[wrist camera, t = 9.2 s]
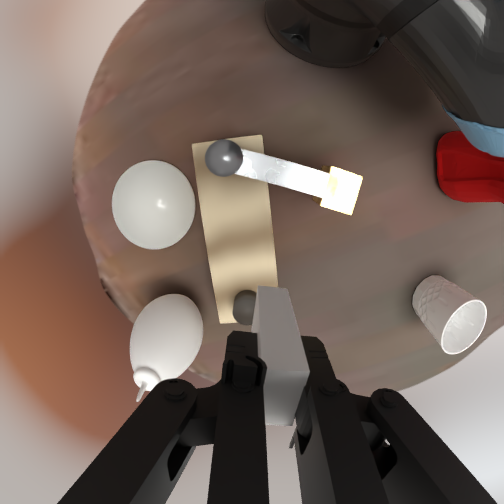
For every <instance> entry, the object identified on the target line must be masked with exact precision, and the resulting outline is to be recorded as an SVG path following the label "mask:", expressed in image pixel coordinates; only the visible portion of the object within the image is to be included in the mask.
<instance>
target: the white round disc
mask: <svg viewBox="0 0 504 504" xmlns="http://www.w3.org/2000/svg"><path fill="white" fill-rule="evenodd" d="M112 211H113V216H114V219H115V222H116V224H117V226H118V228H119V229H120V231H121V232H122V234H123V235H124V236H125V237H126V238H127V239H128V240H129V241H131V242H132V243H134V244H136V245H138V246H140V247H143V248H147V249H162V248H166V247H169V246H171V245H173V244H175V243H176V242H178V241H179V240H180V239H181V238H182V237H183V236H184V235H185V234H186V233H187V232H188V230H189V228H190V227H191V225H192V222H193V219H194V216H195V211H196V201H195V195H194V191H193V188H192V186H191V184H190V182H189V180H188V179H187V177H186V176H185V175H184V174H183V173H182V172H181V171H180V170H179V169H178V168H176V167H175V166H173V165H171V164H169V163H167V162H163V161H157V160H149V161H143V162H140V163H137V164H135V165H133V166H132V167H130V168H129V169H128V170H126V171H125V172H124V173H123V174H122V176H121V177H120V178H119V180H118V182H117V184H116V186H115V189H114V192H113V196H112Z"/></svg>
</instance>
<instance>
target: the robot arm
mask: <svg viewBox="0 0 504 504" xmlns="http://www.w3.org/2000/svg"><path fill="white" fill-rule="evenodd" d="M265 18H266V22H267V25H268V28H269V30H270V32H271V33H272V35H273V36H274V38H275V39H276V40H277V41H278V42H279V43H280V44H281V45H282V46H283V47H284V48H285V49H286V50H288V51H289V52H290V53H292V54H293V55H295V56H297V57H299V58H301V59H303V60H305V61H307V62H310V63H313V64H316V65H320V66H325V67H336V68H338V67H349V66H354V65H357V64H360V63H362V62H364V61H365V60H367V59H368V58H370V57H371V56H372V55H373V54H374V53H376V52H377V51H378V50H379V48H380V47H381V46H382V44H383V42H384V40H385V38H386V37H387V38H388V40H389V41H390V42H391V43H392V44H393V45H394V46H395V47H396V48H397V49H398V50H399V51H400V53H401V54H402V55H403V56H404V57H405V58H406V59H407V60H408V61H409V63H410V64H411V65H412V66H413V67H414V68H415V70H416V71H417V72H418V73H419V74H420V76H421V77H422V78H423V79H424V80H425V82H426V83H427V84H428V85H429V87H430V88H431V89H432V91H433V92H434V93H435V95H436V96H437V97H438V99H439V100H440V102H441V103H442V107H443V109H444V110H445V112H446V113H447V114H448V115H449V116H450V117H451V118H452V119H453V120H454V121H455V123H456V124H457V125H458V127H459V128H460V129H461V131H462V132H463V134H464V135H465V137H466V138H467V140H468V141H469V142H470V143H471V144H472V145H473V146H475V147H476V148H477V149H479V150H481V151H483V152H487V153H489V154H490V155H493V156H497V157H503V158H504V0H266V4H265ZM295 418H296V424H297V427H296V429H295V432H294V435H293V437H292V440H291V442H290V447H289V448H293V445H294V443H295V450H296V457H297V464H298V472H299V481H300V489H301V497H302V504H497V503H496V501H495V500H494V499H493V498H492V497H491V496H490V494H489V493H488V492H487V491H486V490H485V489H484V487H483V486H482V485H481V484H480V483H479V482H478V481H477V479H476V478H475V477H474V476H473V475H472V474H471V472H470V471H469V470H468V469H467V468H466V467H465V466H464V464H463V463H462V462H461V461H460V460H459V459H458V458H457V456H456V455H455V454H454V453H453V452H452V451H451V450H450V449H449V448H448V446H447V445H446V444H445V443H444V442H443V441H442V439H441V438H440V437H439V436H438V435H437V434H436V433H435V432H434V431H433V430H432V428H431V427H430V426H429V425H428V424H427V423H426V422H425V421H424V419H423V418H422V417H421V416H420V415H419V414H418V413H417V412H416V410H415V409H414V408H413V407H412V406H411V405H410V404H409V403H408V401H406V399H405V398H404V397H403V396H402V395H401V394H399V393H398V392H396V391H394V390H392V389H386V388H383V389H378V390H376V391H374V392H373V394H372V395H371V397H365V396H360V395H356V394H352V393H350V392H349V389H348V388H347V386H346V385H345V384H344V383H343V382H341V381H340V380H337V379H336V377H335V374H334V371H333V369H332V366H331V363H330V360H329V359H328V355H327V353H326V350H325V347H324V344H323V343H322V342H321V341H320V340H319V339H318V338H317V337H311V336H300V333H299V329H298V325H297V322H296V318H295V314H294V311H293V307H292V303H291V300H290V296H289V293H288V289H287V288H278V287H268V286H259V285H258V288H257V295H256V302H255V309H254V316H253V323H252V330H251V332H242V331H233V332H232V333H231V334H230V335H229V336H228V338H227V345H226V353H225V360H224V362H223V368H222V378H221V380H220V381H219V382H218V383H216V384H215V385H213V386H211V387H206V388H198V389H196V388H195V387H194V386H193V385H192V384H191V383H189V382H187V381H185V380H182V379H177V378H173V379H166V380H163V381H160V382H159V383H158V384H157V385H155V387H154V388H153V389H152V390H151V392H150V393H149V394H148V395H147V396H146V398H145V399H144V400H143V401H142V403H141V404H140V405H139V406H138V408H137V409H136V410H135V411H134V412H133V413H132V415H131V416H130V417H129V418H128V420H127V421H126V422H125V423H124V424H123V426H122V427H121V428H120V429H119V431H118V432H117V433H116V434H115V435H114V436H113V438H112V439H111V440H110V441H109V443H108V444H107V445H106V446H105V447H104V449H103V450H102V451H101V452H100V453H99V455H98V456H97V457H96V458H95V459H94V461H93V462H92V463H91V464H90V465H89V467H88V468H87V469H86V470H85V471H84V473H83V474H82V475H81V476H80V477H79V479H78V480H77V481H76V482H75V483H74V484H73V486H72V487H71V488H70V489H69V490H68V491H67V493H66V494H65V495H64V496H63V497H62V499H61V500H60V501H59V502H58V503H57V504H165V503H166V501H167V499H168V498H169V496H170V494H171V492H172V490H173V489H174V487H175V485H176V483H177V481H178V480H179V478H180V476H181V474H182V472H183V470H184V469H185V467H186V465H187V463H188V461H189V459H190V457H191V455H192V454H193V452H194V450H195V448H196V446H199V445H208V444H214V446H213V455H212V464H211V473H210V482H209V483H210V484H209V491H208V500H207V504H269V488H268V468H267V447H266V428H265V425H285V426H292V425H293V422H294V419H295ZM386 439H387V441H388V442H389V443H390V445H388V444H387V443H386V442H385V440H386Z"/></svg>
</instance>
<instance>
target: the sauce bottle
mask: <svg viewBox="0 0 504 504" xmlns="http://www.w3.org/2000/svg"><path fill="white" fill-rule="evenodd" d="M202 337H203V322H202V318H201V314H200V312H199V310H198V308H197V306H196V305H195V303H194V302H193V301H192V300H191V299H190V298H188V297H186V296H184V295H180V294H167V295H164V296H161V297H158V298H156V299H154V300H153V301H151V302H150V303H149V304H148V305H147V306H146V307H145V308H144V309H143V310H142V311H141V313H140V314H139V316H138V318H137V319H136V321H135V324H134V327H133V330H132V335H131V339H130V358H131V363H132V368H133V370H134V381H135V382H136V384H137V385H138V386H139V387H140V390H139V393H138V396H137V402H138V401H139V400H140V398H141V397H142V395H143V393H144V391H145V390H147V391H151V390H152V389H153V388H154V387H155V385H157V384H158V383H159V382H160V381H163V380H166V379H173V378H177V377H178V376H179V375H180V374H182V373H183V372H184V371H185V370H186V369H187V368H188V367H189V366H190V364H191V363H192V362H193V360H194V359H195V357H196V355H197V353H198V351H199V349H200V346H201V343H202Z"/></svg>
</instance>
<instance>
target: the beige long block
mask: <svg viewBox="0 0 504 504" xmlns="http://www.w3.org/2000/svg"><path fill="white" fill-rule="evenodd" d="M227 140H231V141H233V142H235V143H236V144H237V145H238V146H240V147H241V148H242V149H244V150H248V151H252V152H256V153H260V154H264V147H263V139H262V135H254V136H246V137H237V138H230V139H227ZM216 141H217V140H216ZM214 142H215V141H209V142H203V143H197V144H192V150H193V158H194V166H195V173H196V181H197V188H198V195H199V202H200V209H201V215H202V222H203V228H204V234H205V241H206V247H207V253H208V259H209V265H210V270H211V276H212V282H213V287H214V293H215V298H216V304H217V309H218V314H219V320H220V324H222V323H235V322H238V323H240V324H242V325H252V323H253V316H254V309H255V302H256V295H257V288H258V285H259V286H268V287H278V281H277V270H276V259H275V249H274V239H273V229H272V219H271V210H270V200H269V191H268V182H265V181H261V180H257V179H253V178H249V177H245V176H242V175H237V174H233V175H230V176H227V177H221V176H217V175H215V174H213V173H212V172H210V171H209V169H208V168H207V166H206V163H205V153H206V151H207V149H208V147H209V146H210V145H211V144H212V143H214Z"/></svg>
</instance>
